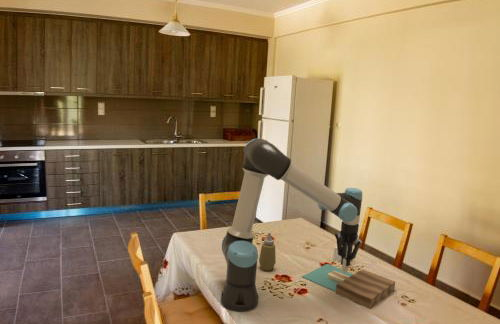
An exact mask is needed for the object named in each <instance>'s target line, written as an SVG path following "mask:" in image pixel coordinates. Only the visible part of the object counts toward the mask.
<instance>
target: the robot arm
mask: <svg viewBox="0 0 500 324" xmlns="http://www.w3.org/2000/svg"><path fill="white" fill-rule="evenodd" d="M243 157H244V158H243V163H242V166H241V167H242V170H243V173H244V174H243V177H242V178H243V179H242V183H241V187H240V192H239V196H238V201H237V203H236V208H235V212H234V216H233V220H232V225H231V226H230V227H228V228H227V230H226V235H225V236H224V237H223V239H222V243H221V250H222V254H223V256H224V260H225V262H226V279H225V280H226V281H225V285H224V287H223V290H222V291H221V294H220V304H221V305H222V306H223V307H225V308H226V309H228V310H229V311H234V312H249V311H252V310H254V309H256V308H257V307H258V305H259V299H260V298H259V294H258V291H257V286H256V282H257V281H256V279H257V267H258V259H259V254H258V247H257V245H255V244H254V243H253V242H254V238H255V234H254V233H253V231H252V230H253V227H254V221H255V219H256V218H255V217H256V215H257V209H258V205H259V202H260V199H261V198H260V197H261V194H262V190H263V186H264V181H265V179H266V177H268V176H270V177H272V178H273V179H275V180H277V181H280V180H281V181H283V182H284V183H286V184H287V185H288V186H290V187H292V188H294V189H295V190H297V191H298V192H299V193H301V194H303V195H304V196H305V197H307V198H309V199H310V200H312V201H314V202H315V203H317V206H318V208H319V209H320V210H322V211H329V212H330V213H331V214H333V215H335V217H338V218H339V220H341V227H340V231H339V232H337V233H335V234H334V236H335V239H336V246H337V250H338V255H340V256H341V257H342V259H341V262H340V264H341V265H342V267H341V269H342V272H343V273H346V272H349V271H348V270H349V267H350V266H351V261H352V260H354V259H356V257H357V254H358V252H359V248H360V246H361V245H362V244H363V240H361V239H360V238H359V235H358V234H359V233H358V232H359V227H360V225H359V224H360V217H361V209H362V202H363V191H362V190H361V189H359V188H356V187H347V188H345V189H344V192H335V191H334V190H332V189H331V188H329V187H328V186H327V185H325V184H323V183H322V182H321V181H319V180H318V179H316V178H315V177H313V176H311V175H310V174H308V173H307V172H305V171H304V170H303V169H301V168H300V167H299V166H297V165H295V164H294V163H293V161H292V159H291V158H290V157H288V156H286V155H285V154H284V153H283V152H282V151H281V150H280V149H279V148H278V147H277V146H276V145H274V144H273V143H271V142H269V141H268V140H267V139H264V138H253V139H251V140H249V141H248V142H247V143H246V145H245V146H244V149H243ZM341 237H342V239H343V241H342V239H341ZM342 243H343V246H342ZM354 244H355V245H354ZM347 245H348V248H347ZM346 254H347V257H346Z"/></svg>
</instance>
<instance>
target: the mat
mask: <svg viewBox="0 0 500 324" xmlns="http://www.w3.org/2000/svg"><path fill="white" fill-rule="evenodd" d="M332 271H337V272H339V273H342V274H344V275H347V276H349V277H350V276H352V275H354V274H355V273H352V272H349V271H347V272H346V273H343V272H342V268H339V267H336V266H334V265H331V264H328V263H326V264H324V265H322V266H320V267H318V268H316V269H314V270H312V271H310V272H308V273H305V274H304V275H302V276H301V278H303V279H306V280H307V281H310V282H312V283H314V284H317V285H319V286H321V287H323V288H326V289H328V290H330V291H333V292H334V293H336V285H337V284H338V282H335V281H333V280H330V279H328V278H327V274H329V273H330V272H332Z"/></svg>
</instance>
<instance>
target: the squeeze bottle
mask: <svg viewBox="0 0 500 324" xmlns="http://www.w3.org/2000/svg"><path fill="white" fill-rule="evenodd" d="M274 242H275V240H274V239H272V233H271V232H268V233H267V236H266V238H265V239H264V241H263V243H262V244H261V248H260V251H259V252H260V253H259V257H258V259H259V261H258V262H259V266H260V269H261V270H263V271H266V272H267V271H268V272H269V271H273V269H274V267H275V265H276V262H277V260H276V256H277V255H276V245H275V243H274Z"/></svg>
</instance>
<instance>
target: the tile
mask: <svg viewBox="0 0 500 324" xmlns="http://www.w3.org/2000/svg"><path fill="white" fill-rule="evenodd" d="M327 278H328V279H330V280H333V281H335V282H338V283H340V282H342V281H343V280H345V279H347V278H349V276H347V275H344V274H342V273H339V272H337V271H332V272H330V273H329V274H327Z"/></svg>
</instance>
